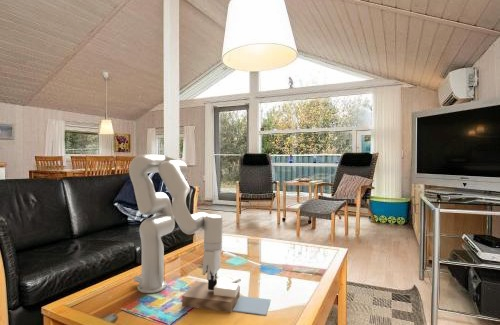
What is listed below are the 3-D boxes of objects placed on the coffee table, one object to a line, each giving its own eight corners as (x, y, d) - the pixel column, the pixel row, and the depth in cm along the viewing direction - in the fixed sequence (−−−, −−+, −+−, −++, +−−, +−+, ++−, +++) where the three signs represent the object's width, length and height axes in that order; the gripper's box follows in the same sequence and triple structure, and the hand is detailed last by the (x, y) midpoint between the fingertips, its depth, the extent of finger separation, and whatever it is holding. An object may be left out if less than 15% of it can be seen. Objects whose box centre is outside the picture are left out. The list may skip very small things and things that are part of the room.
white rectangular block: (213, 294, 120) (213, 287, 119) (218, 288, 125) (218, 281, 125) (235, 297, 118) (235, 289, 118) (239, 290, 124) (239, 283, 124)
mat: (232, 311, 115) (232, 310, 115) (240, 296, 127) (240, 295, 127) (265, 315, 112) (266, 314, 112) (270, 300, 124) (270, 299, 124)
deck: (182, 305, 118) (182, 296, 118) (195, 290, 132) (196, 281, 132) (230, 312, 114) (231, 302, 114) (239, 295, 128) (239, 286, 128)
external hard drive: (209, 284, 139) (228, 276, 148) (221, 290, 134) (240, 281, 143) (209, 281, 139) (228, 273, 148) (221, 286, 134) (240, 278, 143)
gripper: (210, 239, 130) (209, 280, 131) (197, 250, 116) (197, 296, 116) (226, 240, 129) (226, 282, 129) (215, 251, 114) (215, 298, 115)
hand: (212, 289), depth 123 cm, fingers closed
